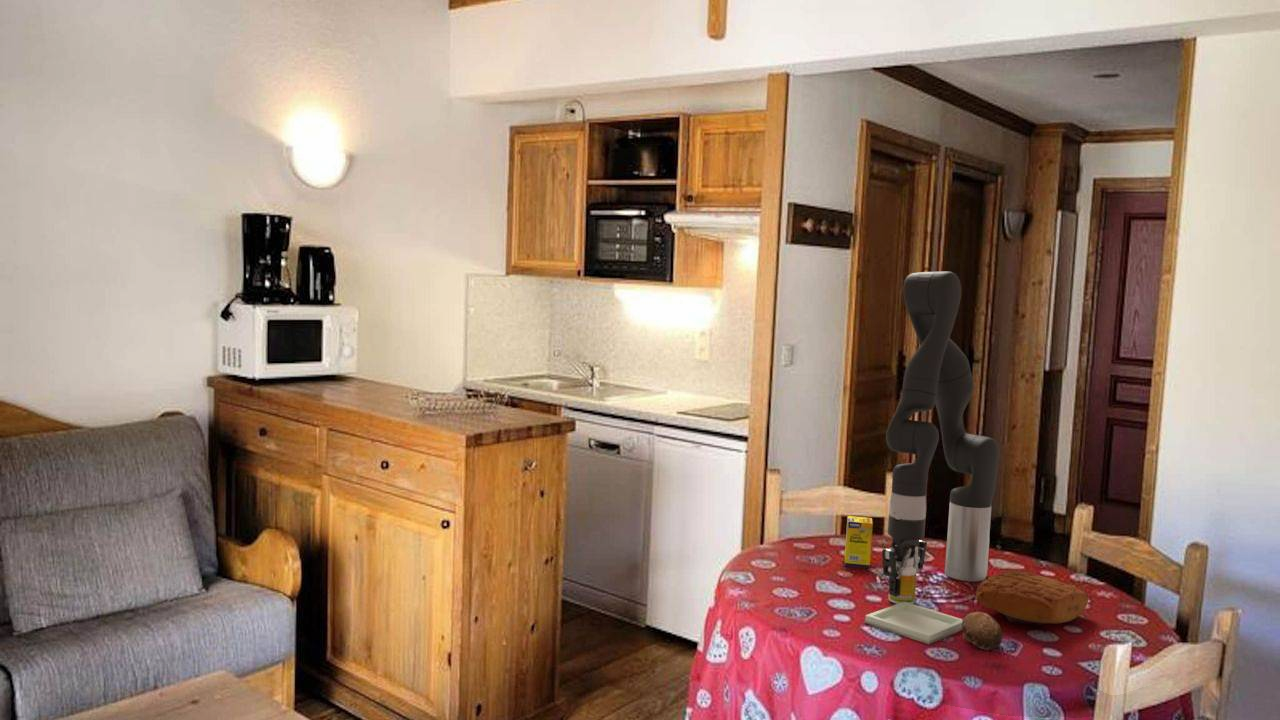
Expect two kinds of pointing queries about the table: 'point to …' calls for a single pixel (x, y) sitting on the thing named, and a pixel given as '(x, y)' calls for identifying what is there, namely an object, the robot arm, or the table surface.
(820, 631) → the table surface
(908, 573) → the supplement bottle
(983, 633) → the mushroom
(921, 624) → the tray
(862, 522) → the supplement box
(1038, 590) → the clay tablet
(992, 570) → the table surface
